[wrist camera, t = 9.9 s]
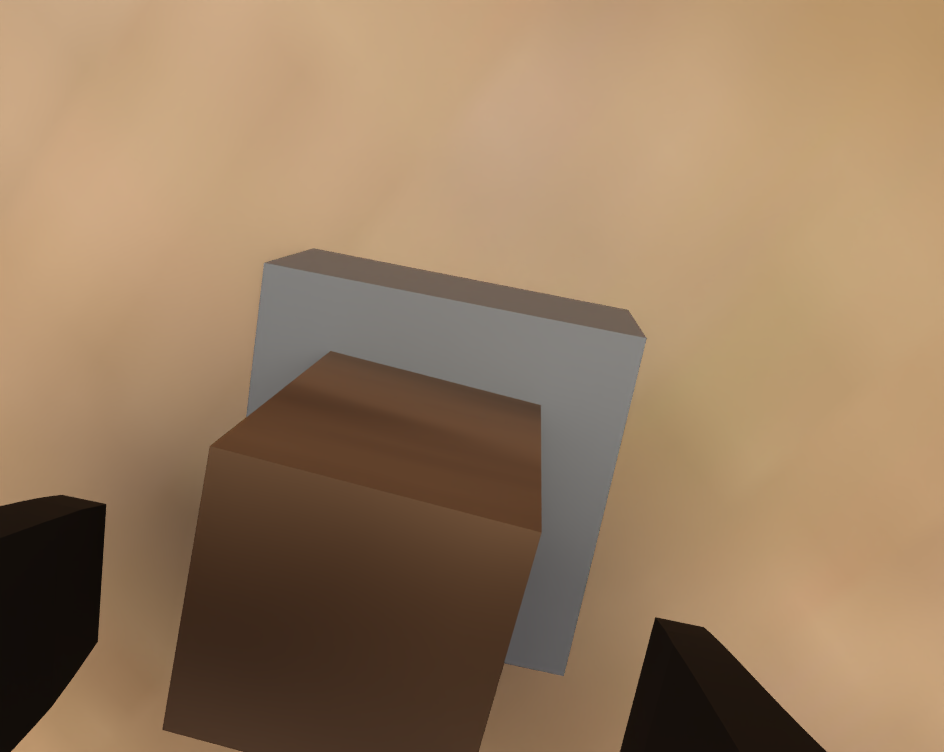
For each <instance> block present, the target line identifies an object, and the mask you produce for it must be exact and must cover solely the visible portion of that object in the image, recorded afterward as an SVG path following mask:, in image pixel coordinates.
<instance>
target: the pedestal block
mask: <svg viewBox="0 0 944 752" xmlns="http://www.w3.org/2000/svg"><path fill="white" fill-rule="evenodd" d="M645 343H646V337H645V335H644V334H643V332H642V330H641V329H640V327H639V326H638V324H637V323H636V321H635V320H634V318H633V317H632V315H631V314H630V312H629V310H625V309H620V308H615V307H610V306H605V305H600V304H595V303H589V302H584V301H579V300H574V299H569V298H564V297H559V296H554V295H549V294H543V293H538V292H533V291H528V290H523V289H518V288H513V287H508V286H503V285H498V284H492V283H487V282H482V281H477V280H472V279H467V278H462V277H457V276H452V275H446V274H441V273H436V272H431V271H426V270H421V269H416V268H411V267H406V266H400V265H395V264H390V263H385V262H380V261H375V260H370V259H365V258H360V257H354V256H349V255H344V254H339V253H334V252H329V251H324V250H319V249H310V250H307V251H303V252H300V253H296V254H293V255H289V256H286V257H283V258H279V259H276V260H272V261H269V262H265V263H264V269H263V278H262V286H261V295H260V303H259V312H258V321H257V329H256V338H255V346H254V355H253V364H252V372H251V381H250V389H249V398H248V407H247V415H246V417H247V416H249V415H250V414H251V413H252V412H254V411H255V410H256V409H258V408H259V407H260V406H261V405H263V404H264V403H265V402H266V401H268V400H269V399H270V398H271V397H273V396H274V395H275V394H277V393H278V392H279V391H280V390H282V389H283V388H284V387H285V386H287V385H288V384H289V383H290V382H292V381H293V380H294V379H296V378H297V377H298V376H299V375H301V374H302V373H303V372H304V371H306V370H307V369H308V368H309V367H311V366H312V365H313V364H315V363H316V362H317V361H318V360H320V359H321V358H322V357H323V356H325V355H326V354H327V353H328V352H330V351H333V352H337V353H341V354H344V355H348V356H352V357H356V358H360V359H364V360H368V361H372V362H376V363H379V364H383V365H387V366H391V367H395V368H399V369H403V370H407V371H411V372H414V373H418V374H422V375H426V376H430V377H434V378H438V379H442V380H446V381H449V382H453V383H457V384H461V385H465V386H469V387H473V388H477V389H481V390H484V391H488V392H492V393H496V394H500V395H504V396H508V397H512V398H515V399H519V400H523V401H527V402H531V403H535V404H539V405H541V498H542V533H541V537H540V540H539V544H538V547H537V551H536V554H535V558H534V561H533V565H532V568H531V571H530V575H529V578H528V582H527V585H526V589H525V592H524V596H523V599H522V603H521V606H520V610H519V613H518V617H517V620H516V623H515V627H514V630H513V634H512V637H511V641H510V644H509V648H508V651H507V655H506V658H505V662H504V663H506V664H510V665H515V666H519V667H524V668H529V669H533V670H538V671H543V672H547V673H552V674H556V675H561V676H564V673H565V669H566V665H567V661H568V657H569V653H570V649H571V645H572V640H573V636H574V632H575V628H576V624H577V620H578V616H579V612H580V608H581V604H582V600H583V596H584V591H585V587H586V583H587V579H588V575H589V571H590V567H591V563H592V559H593V555H594V551H595V547H596V543H597V538H598V534H599V530H600V526H601V522H602V518H603V514H604V510H605V506H606V502H607V498H608V494H609V489H610V485H611V481H612V477H613V473H614V469H615V465H616V461H617V457H618V453H619V449H620V445H621V440H622V436H623V432H624V428H625V424H626V420H627V416H628V412H629V408H630V404H631V400H632V396H633V392H634V387H635V383H636V379H637V375H638V371H639V367H640V363H641V359H642V355H643V351H644V347H645Z"/></svg>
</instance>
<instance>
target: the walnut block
mask: <svg viewBox="0 0 944 752" xmlns="http://www.w3.org/2000/svg"><path fill="white" fill-rule="evenodd" d="M541 533H542V498H541V405H539V404H535V403H531V402H527V401H523V400H519V399H515V398H512V397H508V396H504V395H500V394H496V393H492V392H488V391H484V390H481V389H477V388H473V387H469V386H465V385H461V384H457V383H453V382H449V381H446V380H442V379H438V378H434V377H430V376H426V375H422V374H418V373H414V372H411V371H407V370H403V369H399V368H395V367H391V366H387V365H383V364H379V363H376V362H372V361H368V360H364V359H360V358H356V357H352V356H348V355H344V354H341V353H337V352H333V351H330V352H328V353H327V354H326V355H325V356H323V357H322V358H321V359H320V360H318V361H317V362H316V363H315V364H313V365H312V366H311V367H309V368H308V369H307V370H306V371H304V372H303V373H302V374H301V375H299V376H298V377H297V378H296V379H294V380H293V381H292V382H290V383H289V384H288V385H287V386H285V387H284V388H283V389H282V390H280V391H279V392H278V393H277V394H275V395H274V396H273V397H271V398H270V399H269V400H268V401H266V402H265V403H264V404H263V405H261V406H260V407H259V408H258V409H256V410H255V411H254V412H252V413H251V414H250V415H249V416H247V417H246V418H245V419H244V420H242V421H241V422H240V423H239V424H237V425H236V426H235V427H233V428H232V429H231V430H230V431H228V432H227V433H226V434H225V435H223V436H222V437H221V438H220V439H218V440H217V441H216V442H214V443H213V444H212V445H211V446H210V449H209V455H208V461H207V467H206V473H205V479H204V485H203V491H202V497H201V503H200V509H199V515H198V521H197V526H196V532H195V538H194V544H193V550H192V556H191V562H190V568H189V574H188V580H187V586H186V592H185V598H184V604H183V610H182V616H181V622H180V628H179V634H178V640H177V646H176V652H175V658H174V664H173V670H172V676H171V682H170V688H169V694H168V700H167V706H166V712H165V718H164V724H163V730H165V731H169V732H173V733H176V734H180V735H184V736H187V737H191V738H195V739H198V740H202V741H206V742H210V743H213V744H217V745H221V746H224V747H228V748H232V749H236V750H239V751H243V752H479V748H480V745H481V741H482V738H483V734H484V731H485V727H486V724H487V721H488V717H489V714H490V710H491V707H492V703H493V700H494V696H495V693H496V689H497V686H498V682H499V679H500V675H501V672H502V669H503V665H504V662H505V658H506V655H507V651H508V648H509V644H510V641H511V637H512V634H513V630H514V627H515V623H516V620H517V617H518V613H519V610H520V606H521V603H522V599H523V596H524V592H525V589H526V585H527V582H528V578H529V575H530V571H531V568H532V565H533V561H534V558H535V554H536V551H537V547H538V544H539V540H540V537H541Z"/></svg>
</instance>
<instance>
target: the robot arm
mask: <svg viewBox="0 0 944 752" xmlns="http://www.w3.org/2000/svg"><path fill="white" fill-rule="evenodd" d="M105 517H106V504H103V503H98V502H93V501H89V500H84V499H79V498H74V497H69V496H64V495H58V496H50V497H43V498H37V499H32V500H27V501H22V502H17V503H13V504H8V505H4V506H0V752H11V751H12V750H13V749H14V748H15V747H16V745H17V744H18V743H19V742H20V741H21V740H22V739H23V738H24V737H25V736H26V735H27V733H28V732H29V731H30V730H31V729H32V728H33V727H34V726H35V725H36V724H37V723H38V721H39V720H40V719H41V718H42V717H43V716H44V715H45V714H46V712H47V711H48V710H49V709H50V708H51V707H52V705H53V704H54V703H55V701H56V700H57V699H58V697H59V696H60V695H61V693H62V692H63V691H64V689H65V688H66V686H67V685H68V684H69V682H70V681H71V680H72V678H73V677H74V675H75V674H76V673H77V671H78V670H79V668H80V667H81V665H82V664H83V662H84V661H85V659H86V658H87V657H88V655H89V654H90V652H91V651H92V649H93V648H94V646H95V645H96V643H97V642H98V628H99V612H100V597H101V581H102V565H103V549H104V533H105ZM620 752H826V751H825V750H824V749H823V748H822V747H821V746H820V745H819V744H818V743H817V742H816V741H815V740H814V739H813V738H812V737H811V736H810V735H809V734H808V733H807V732H806V731H805V730H804V729H803V728H802V727H801V726H800V725H799V724H798V723H797V722H796V721H795V720H794V719H793V718H792V717H791V716H790V715H789V714H788V713H787V712H786V711H785V710H784V709H783V708H782V707H781V706H780V704H779V703H778V702H777V701H776V700H775V699H774V698H773V697H772V696H771V695H770V694H769V693H768V692H767V691H766V690H765V689H764V688H763V687H762V686H761V685H760V684H759V682H758V681H757V680H756V679H755V678H754V677H753V676H752V675H751V674H750V673H749V672H748V671H747V670H746V669H745V668H744V667H743V666H742V664H741V663H740V662H739V661H738V660H737V659H736V658H735V657H734V656H733V655H732V654H731V653H730V652H729V651H728V650H727V649H726V648H725V647H724V646H723V645H722V644H721V643H720V642H719V641H718V640H717V639H716V638H715V637H714V636H713V635H712V634H711V633H710V632H709V631H707V630H706V629H705V628H704V627H700V626H695V625H690V624H685V623H680V622H676V621H671V620H666V619H661V618H656V617H655V621H654V625H653V628H652V632H651V636H650V640H649V644H648V647H647V651H646V655H645V659H644V663H643V666H642V670H641V674H640V678H639V682H638V686H637V689H636V693H635V697H634V701H633V705H632V708H631V712H630V716H629V720H628V724H627V727H626V731H625V735H624V739H623V743H622V746H621V750H620Z"/></svg>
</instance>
